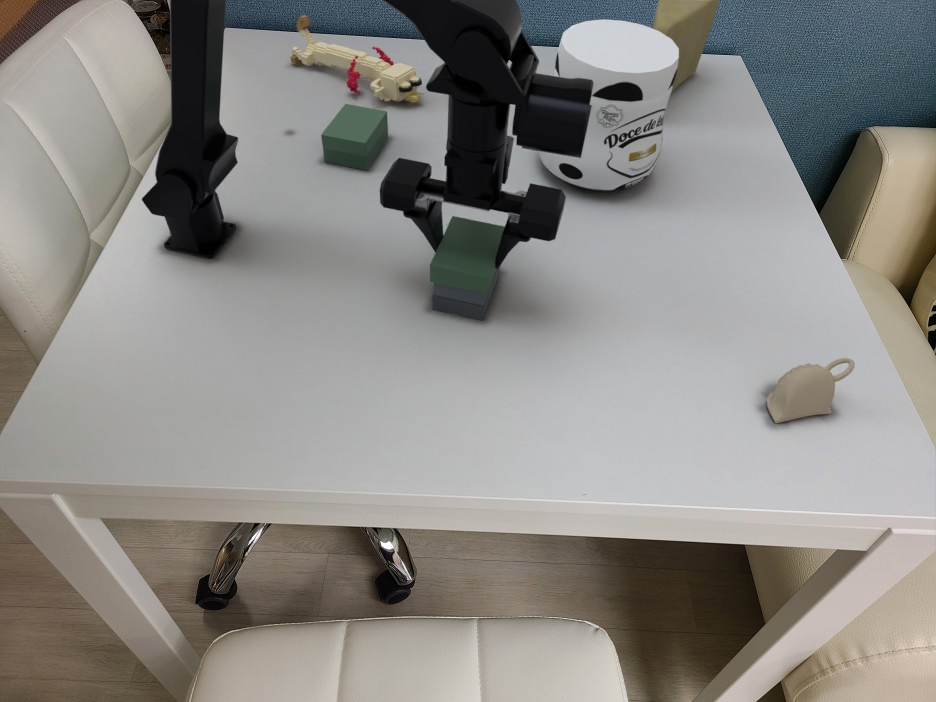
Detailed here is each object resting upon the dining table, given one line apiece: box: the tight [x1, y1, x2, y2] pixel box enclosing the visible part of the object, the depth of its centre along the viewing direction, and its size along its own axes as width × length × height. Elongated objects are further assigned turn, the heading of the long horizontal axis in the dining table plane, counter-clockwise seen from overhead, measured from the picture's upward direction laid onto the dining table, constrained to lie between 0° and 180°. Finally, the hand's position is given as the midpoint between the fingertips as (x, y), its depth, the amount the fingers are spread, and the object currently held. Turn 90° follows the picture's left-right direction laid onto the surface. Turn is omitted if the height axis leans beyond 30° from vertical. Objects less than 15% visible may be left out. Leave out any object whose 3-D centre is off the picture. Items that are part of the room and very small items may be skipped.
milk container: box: [538, 19, 679, 193], centre depth 92 cm, size 17×17×18 cm
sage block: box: [429, 215, 505, 294], centre depth 76 cm, size 9×6×3 cm
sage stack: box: [320, 103, 389, 171], centre depth 97 cm, size 9×6×4 cm
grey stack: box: [431, 266, 501, 321], centre depth 78 cm, size 8×6×4 cm
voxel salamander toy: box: [289, 14, 424, 103], centre depth 109 cm, size 10×9×25 cm
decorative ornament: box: [766, 357, 856, 424], centre depth 69 cm, size 4×8×5 cm, turn 102°
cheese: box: [651, 0, 720, 93], centre depth 109 cm, size 22×10×15 cm, turn 154°
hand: (468, 259), depth 76 cm, fingers closed on sage block, 6 cm apart
